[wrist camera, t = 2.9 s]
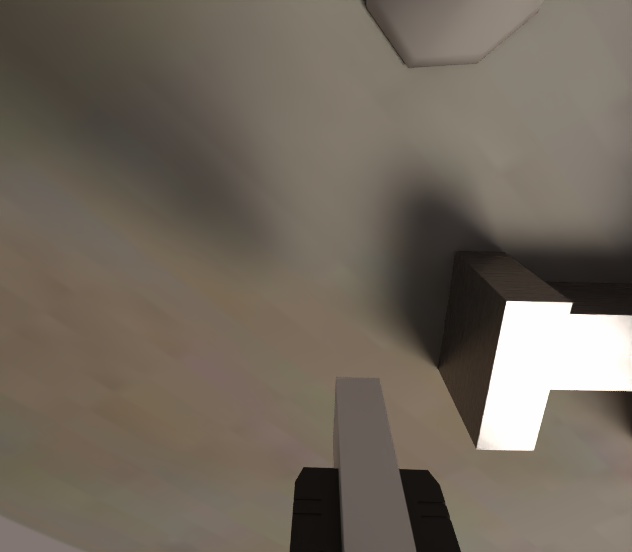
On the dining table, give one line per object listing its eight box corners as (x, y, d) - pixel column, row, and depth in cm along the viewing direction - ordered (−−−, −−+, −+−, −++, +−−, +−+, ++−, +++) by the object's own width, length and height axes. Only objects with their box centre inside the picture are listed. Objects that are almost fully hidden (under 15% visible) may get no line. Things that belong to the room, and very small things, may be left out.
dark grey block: (438, 368, 23) (476, 449, 18) (455, 250, 21) (506, 301, 15) (661, 373, 23) (770, 455, 18) (704, 256, 21) (846, 309, 15)
